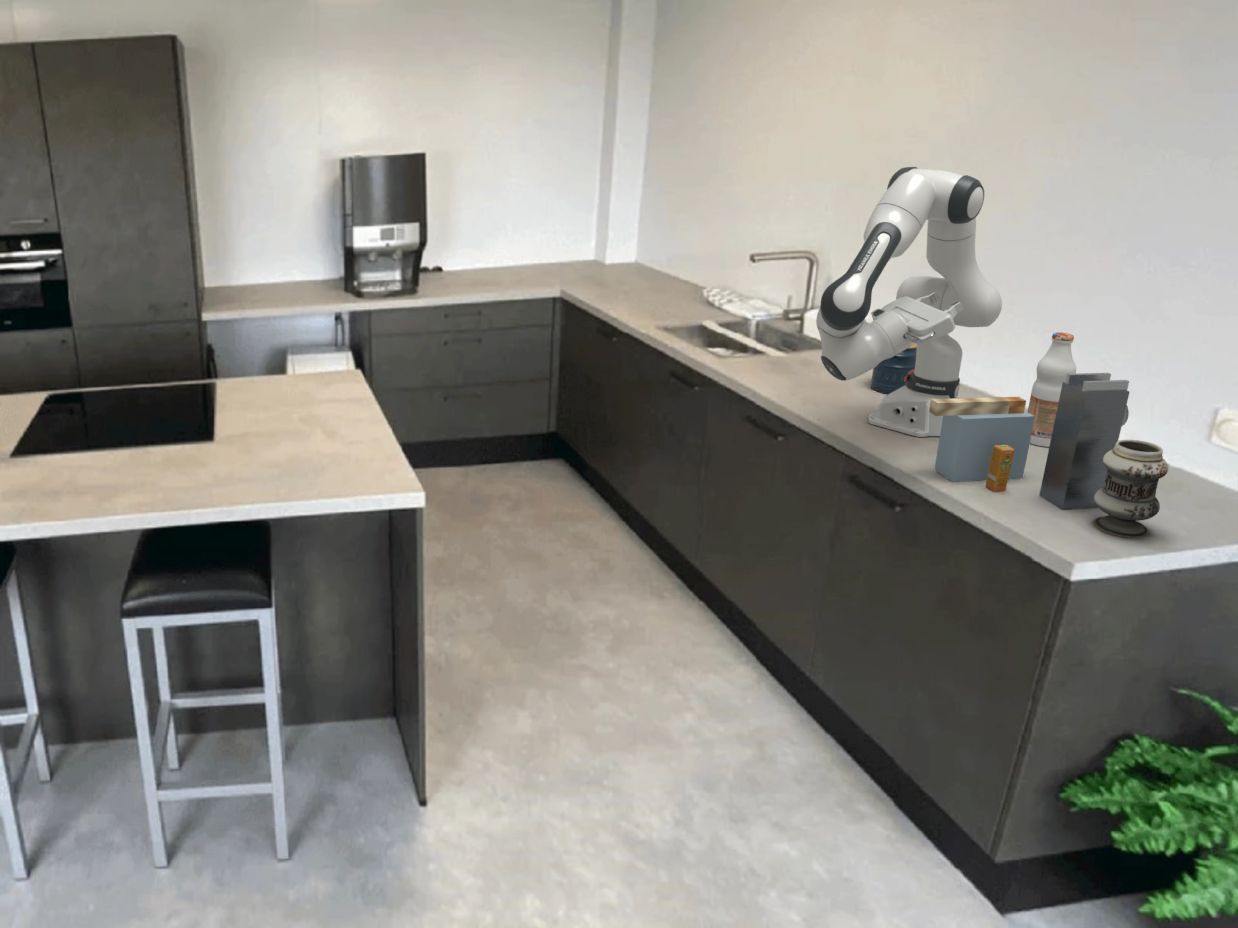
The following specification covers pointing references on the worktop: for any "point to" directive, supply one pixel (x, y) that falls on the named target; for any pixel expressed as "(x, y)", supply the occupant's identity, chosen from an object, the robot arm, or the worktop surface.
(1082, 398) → the housing tower
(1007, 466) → the supplement box
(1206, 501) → the worktop surface
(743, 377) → the worktop surface
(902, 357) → the canister
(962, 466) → the pale blue brick
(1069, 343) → the fruit juice
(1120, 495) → the apothecary jar
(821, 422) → the worktop surface
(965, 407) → the tan wooden bar
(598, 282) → the worktop surface
